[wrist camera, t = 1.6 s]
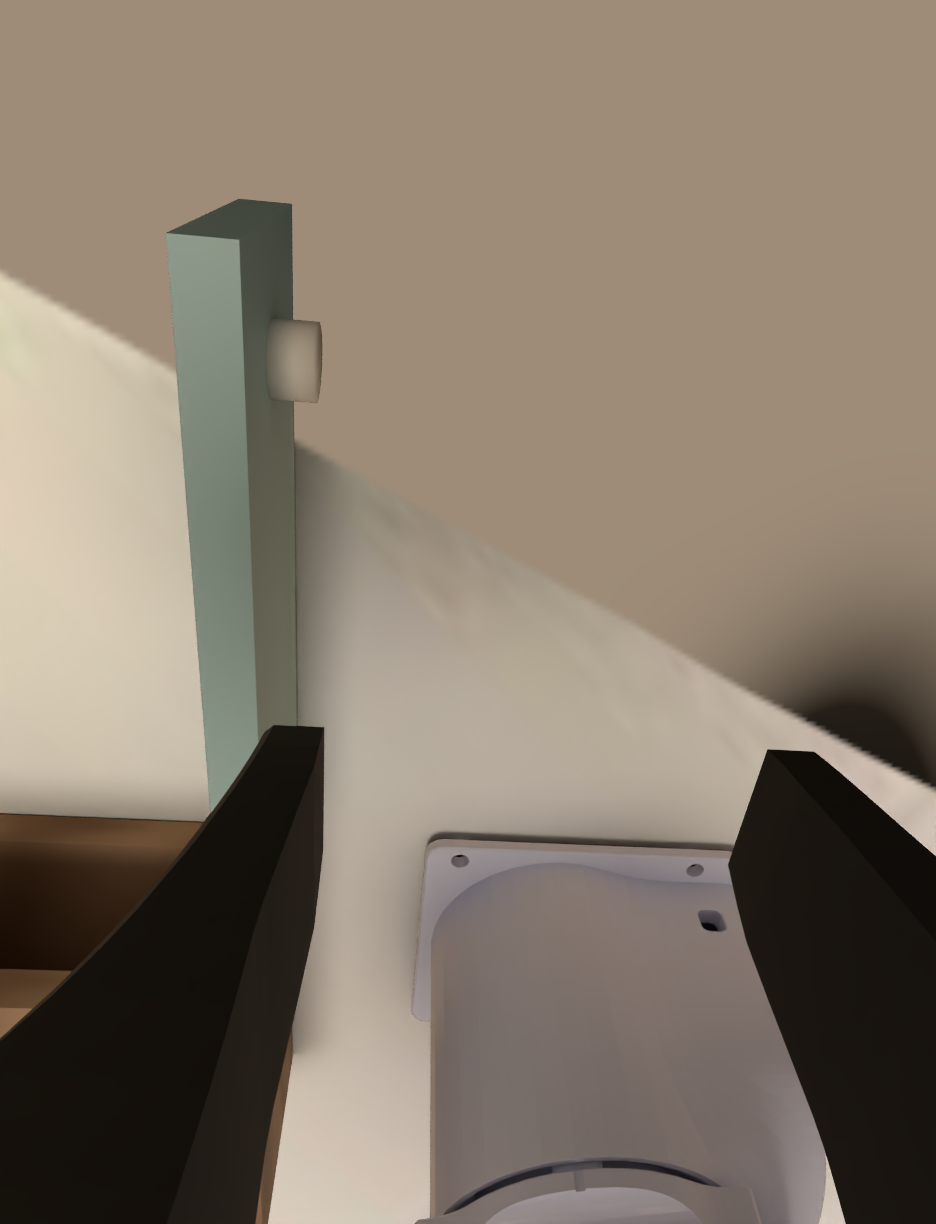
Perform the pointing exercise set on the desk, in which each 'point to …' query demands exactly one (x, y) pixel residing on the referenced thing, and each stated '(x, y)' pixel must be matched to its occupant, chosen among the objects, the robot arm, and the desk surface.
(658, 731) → the desk surface
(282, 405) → the cabinet door
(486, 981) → the robot arm
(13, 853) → the walnut cabinet
